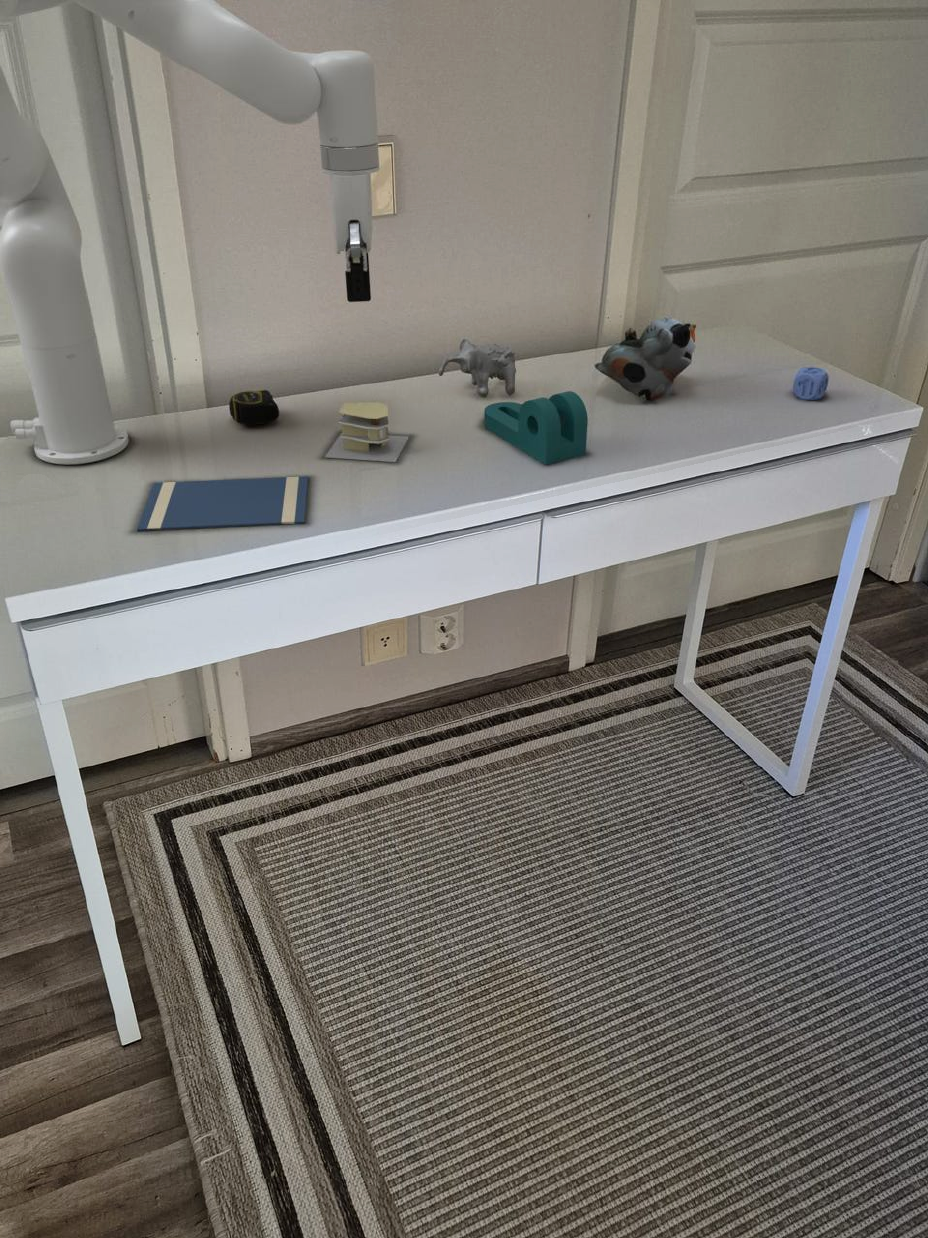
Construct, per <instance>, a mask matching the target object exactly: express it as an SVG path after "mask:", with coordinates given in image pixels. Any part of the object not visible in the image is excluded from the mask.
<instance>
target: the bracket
mask: <svg viewBox="0 0 928 1238" xmlns="http://www.w3.org/2000/svg"><path fill="white" fill-rule="evenodd" d="M585 405H586V404H585V403H584V401H583V399H582V398H581V396H579V394H578V393H576V392H574V391H572V390H568V391H563V392H559V393H555V394H554V393H553V394H552V395H550V397H549V398H548V397H544V396H543V397H538V398H533V399H529V400H526V401H523V403H519V402H513V401H501V402H495V403H491V404H488V405H487V406H485V407H484V410H483V427H484V429H486V430H488V431H489V432H491V433H493V434H494V435H495V436H497V437H499V438H501V439H502V440H504V441H506V442H507V443H509V444H510V445H512V446H514V447H515V448H517V449H518V450H520V451H522V452H523V453H526V454H527V455H528V456H531V457H532V458H534V459H535V460H537V461H538V462H540V463H542V464H543V465H545V466H546V465H550V464H551V465H552V464H554V463H558V462H561V461H562V462H563V461H565V460H569V459H574V458H577V457H580V456H585V455H586V453H587V440H588V423H589V419H588V412H587V408H586V406H585Z"/></svg>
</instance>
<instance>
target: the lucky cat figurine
mask: <svg viewBox="0 0 928 1238" xmlns="http://www.w3.org/2000/svg"><path fill="white" fill-rule="evenodd" d="M696 328H697V325H696V324H691V323H689V322H688V323H685V321H682V320H680V319H678V318H676V317H675V318H674V317H663V318H660V319H656V320H653V321H651V322H650V324H648V325H647V326H646V328H645V329H643V332H642V333H641V335H640V337H639V338H638V336H637V331H636V330H635V329H634V328H633V327H629V328H628V329H627V330H626V331H625V333H624V340H622V341H620V342H619V343H616V344H613V345H611V346H610V347H609V348H608V349H607V350H606V351H605V352H604V354H603V355H602V358H601V361H600V362H597V363H595V364H594V368H595V369H596V370H597V371H598V372H600V374H603V375H604V376H605V377H608V378H609V379H611V380H612V381H614V382H615V383H617V384H618V385H619V386H620V387H621V388H622V389H623V390H624V391H626V392H629V393H631V394H632V395H634V396H636V397H639V398H640V397H642V396H645V401H646V402H655V401H656V400H659V399H661V398H664V397H667V396H669V395H670V394H671V393H672V390H673V388H674V382H675V379H676V378H677V377H678V376H679V375H680V374H681V373H683V372H684V371H685V370H686V369H687V368H688V367H689V366H690V365H691V364H692V362H693V359H692V358H693V354H694V351H695V349H696V347H697V346H696V344H695V343H696V333H695V331H696Z"/></svg>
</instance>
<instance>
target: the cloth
mask: <svg viewBox="0 0 928 1238" xmlns="http://www.w3.org/2000/svg"><path fill="white" fill-rule="evenodd" d="M308 485H309V476H308V475H305V476H282V477H259V478H238V479H237V478H233V479H214V480H212V479H210V480H190V481H189V480H188V481H187V480H186V481H163V482H154V483H153V485H152V486H151V489H150V492H149V495H148V498H147V501H146V503H145V506H144V508H143V512H142V515H141V516H140V519H139V522H138V525H137V528H136V531H137V532H146V531H147V532H148V531H150V532H151V531H169V530H170V531H171V530H191V529H192V530H193V529H212V528H214V529H215V528H232V527H233V528H234V527H256V526H257V527H258V526H276V525H277V526H278V525H279V526H280V525H297V524H298V525H300V524H305V523H306V513H307V511H306V510H307V499H308V498H307V497H308Z"/></svg>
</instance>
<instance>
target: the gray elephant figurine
mask: <svg viewBox="0 0 928 1238" xmlns="http://www.w3.org/2000/svg"><path fill="white" fill-rule="evenodd" d="M515 355H516V352H515V351H512V350H511V349H510V348H509V347H508V346H507V347H502V346H500V345H499V344H497V343H487V344H486V345H477V344H474V343H471V342H470V341H469V340H468V339H467V338H463V339H462V340H461V342H460V344H459V353H455V354H453V355H449V356H446V357H445V358H444V360H443V361H442V362H441V365H440V368H439V369H438V376H439V377H442V376H443V375H444V373H445V368H446V366H448V364H449V363H457V364H458V365H459V366H460V371H461V372H462V373H464V374H467V375H471V379H470V380H471V385H474V386H476V387H477V388H476V393H477V395H478V396H479V397H481V398H486V397H487V396H488V395H489V392H490V389H489V379H491V380H493V379H494V378H495V379H498V380H500V381H504V391H505V393H506V394H507V395H509V396H512V395H513V394H515V392H516V374H517V369H516V368H517V367H516V360H515V359H516V357H515Z"/></svg>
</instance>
